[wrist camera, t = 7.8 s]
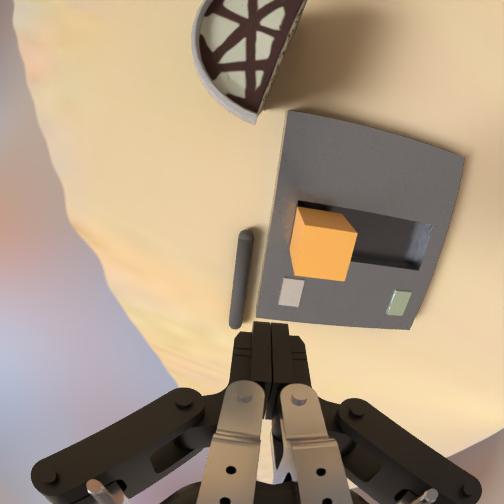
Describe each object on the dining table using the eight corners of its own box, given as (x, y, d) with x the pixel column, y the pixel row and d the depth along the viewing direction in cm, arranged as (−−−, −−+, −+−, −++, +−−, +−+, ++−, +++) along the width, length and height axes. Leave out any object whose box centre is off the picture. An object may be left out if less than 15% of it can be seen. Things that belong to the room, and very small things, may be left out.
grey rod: (240, 226, 29) (239, 231, 28) (254, 228, 29) (254, 233, 28) (228, 323, 34) (227, 331, 32) (241, 325, 34) (240, 332, 32)
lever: (295, 201, 27) (304, 225, 21) (337, 208, 27) (357, 233, 21) (288, 242, 29) (294, 275, 23) (328, 248, 29) (344, 281, 23)
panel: (286, 111, 25) (288, 109, 23) (454, 155, 25) (466, 158, 23) (256, 306, 33) (255, 318, 31) (403, 320, 33) (410, 330, 31)
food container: (239, -9, 20) (228, -63, 11) (303, 11, 21) (322, -38, 12) (192, 105, 25) (154, 95, 16) (257, 125, 25) (253, 125, 16)
